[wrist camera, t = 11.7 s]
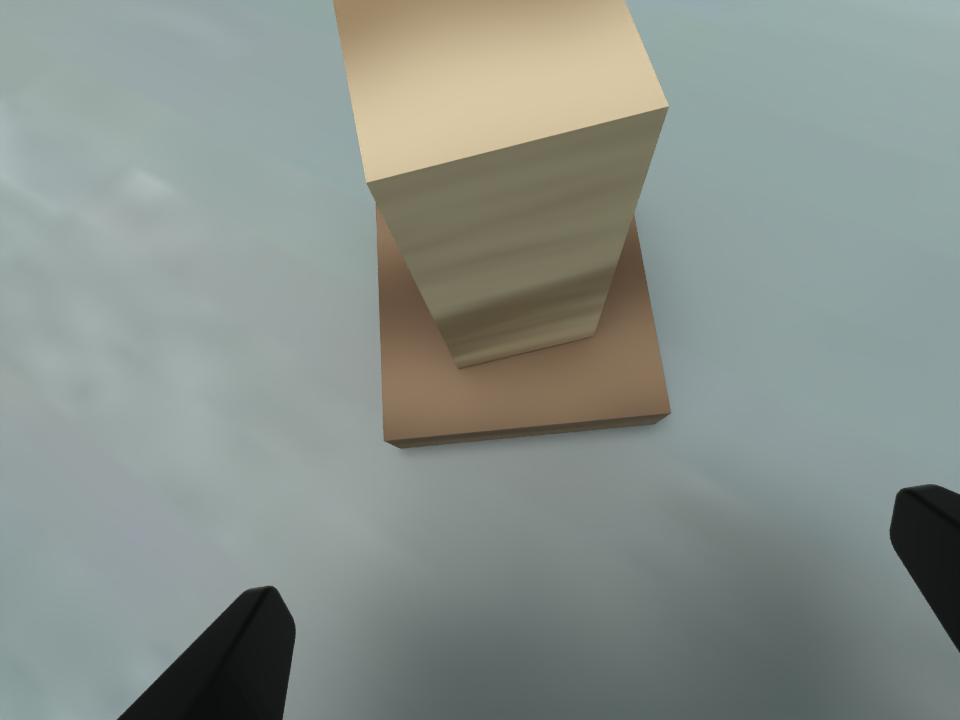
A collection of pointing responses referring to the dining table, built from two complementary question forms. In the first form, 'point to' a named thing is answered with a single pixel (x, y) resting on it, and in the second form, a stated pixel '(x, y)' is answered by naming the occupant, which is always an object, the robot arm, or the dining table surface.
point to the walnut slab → (516, 367)
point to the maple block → (504, 156)
